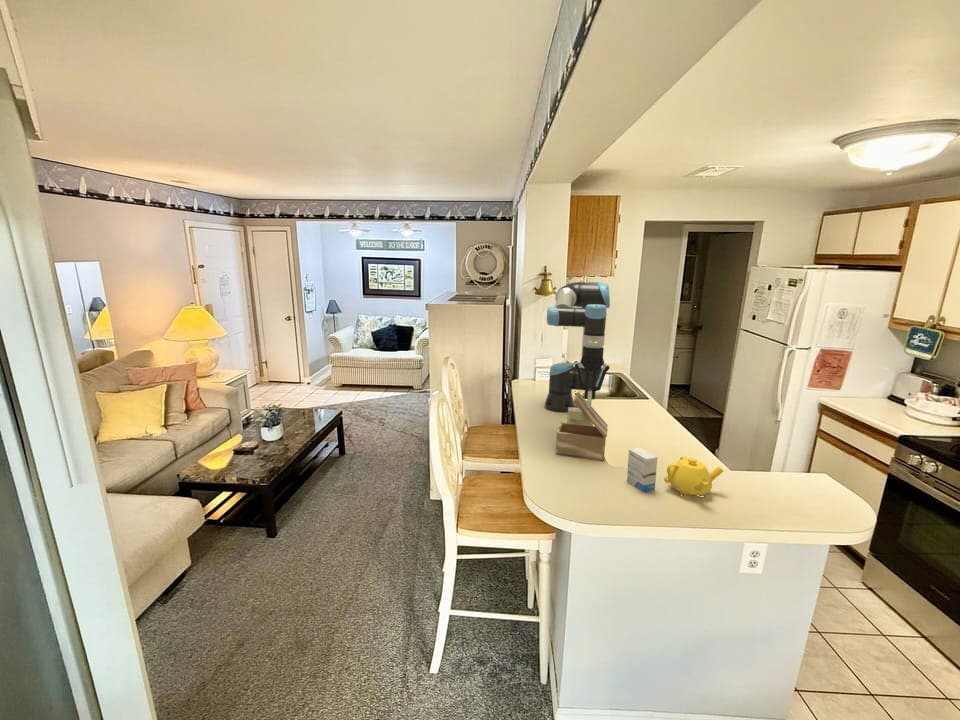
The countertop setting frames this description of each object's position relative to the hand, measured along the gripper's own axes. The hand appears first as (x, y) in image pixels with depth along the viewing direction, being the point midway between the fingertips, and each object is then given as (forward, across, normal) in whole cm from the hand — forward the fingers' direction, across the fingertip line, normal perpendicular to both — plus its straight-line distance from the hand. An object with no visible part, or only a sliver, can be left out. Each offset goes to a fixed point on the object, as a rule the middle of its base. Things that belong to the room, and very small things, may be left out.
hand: (589, 406), depth 160 cm
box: (+19, -4, +17) cm, 26 cm away
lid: (+3, +1, 0) cm, 3 cm away
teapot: (+19, +35, -20) cm, 44 cm away
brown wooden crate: (+19, -2, 0) cm, 19 cm away
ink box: (+19, +19, -21) cm, 34 cm away
